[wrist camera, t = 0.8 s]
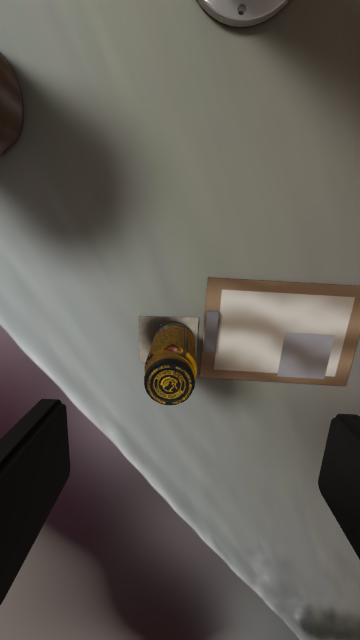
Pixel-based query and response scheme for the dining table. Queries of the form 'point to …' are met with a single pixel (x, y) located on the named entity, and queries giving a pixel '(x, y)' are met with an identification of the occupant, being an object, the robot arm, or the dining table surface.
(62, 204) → the dining table surface
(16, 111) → the plant pot
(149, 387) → the condiment
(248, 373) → the clipboard
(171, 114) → the dining table surface
